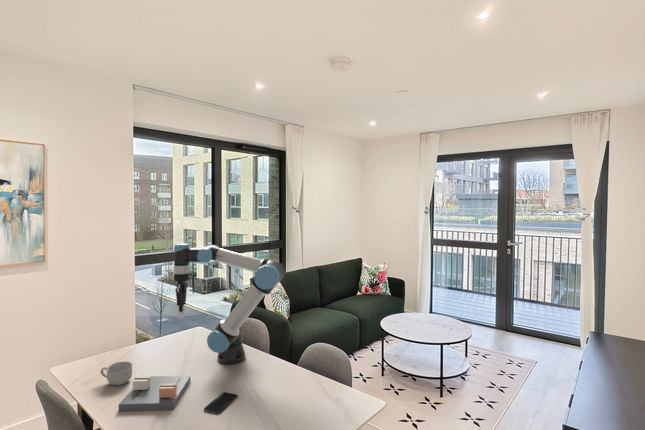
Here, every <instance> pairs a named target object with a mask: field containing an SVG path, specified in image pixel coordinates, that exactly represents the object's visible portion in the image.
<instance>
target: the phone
mask: <svg viewBox="0 0 645 430" xmlns="http://www.w3.org/2000/svg"><path fill="white" fill-rule="evenodd" d="M237 399H238V394H237V393H230V392H226V391H225V392H222V393H220V394H219V395H218V396H217V397H215V399H213V400H212V401H211V402H210V403H208V404H207V405H206V406H205V407H204V408H203V412H205V413H208V414H214V415H221V413H222V412H223V411H224V410H226V409H227V408H228V407H230V405H231V404H232V403H233V402H234V401H236V400H237Z"/></svg>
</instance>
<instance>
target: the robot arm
mask: <svg viewBox="0 0 645 430" xmlns="http://www.w3.org/2000/svg"><path fill="white" fill-rule="evenodd" d="M211 261H215V262H218V263H222V264H225V265H228V266H232V267H235V268H238V269H243V270H247V271H249V272H253V273H254V276H253V277H252V279H251V281H250V283H251V285H250V286H249V288H248V289H247V291H245V293H244V295H243V296H242V297H241V298H240V300H239V301H238V302H237V303H236V305H235V307H234V308H233V309H232V311H231V312H230V313H229V315H228V316H225V317H222V318H221V319H220V321H219V323H218V324H217V325H216V327H215V328H214V329H213V330H212V331H211V332H210V333H209V334H208V336H207V337H206V343H207V347H208V349H210V350H211V351H212V352H214V353H216V354H217V362H218V363H220V364H223V365H235V364H238V363H239V364H240V363H241V362H243V361H244V360H245V359H246V351H245V349H244V345H243V325H244V323H245V322H246V321H247V319H248V318H249V317H250V315H251V314H252V313H253V311H255V309H256V308H257V306H258V305H259V303H260V302H261V301H262V299H263V298H264V297H265V296H267V295H270V294H271V293H272V291H273V290H274V289H275V287H276V286H277V285H278V284H279V283H280V282H281V281H282V280H283V279H284V277H285V273H286V271H285V267H284V265H283V264H282V263H280V262H279V261H277V260H272V259H268V258H263V259H260V258H257V257H255V256H249V255H246V254H243V253H238V252H236V251H232V250H228V249H224V248H222V247H221V248H220V247H219V246H218V245H215V244H210V245H207V246H203V247H190V244H189V243H176V244H175V245H174V246H173V267H172V269H173V281H174V282H177V283H176V288H175V289H174V291H175V295H176V298H175V299H176V306H178V310H177V311H178V314H177V315H178V318H180V319H181V318H185V317H186V316H185V305H187V288H188V283H186V282H187V281H189V280H190V273H189V272H190V263H202V264H205V263H206V264H207V263H210V262H211Z"/></svg>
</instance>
